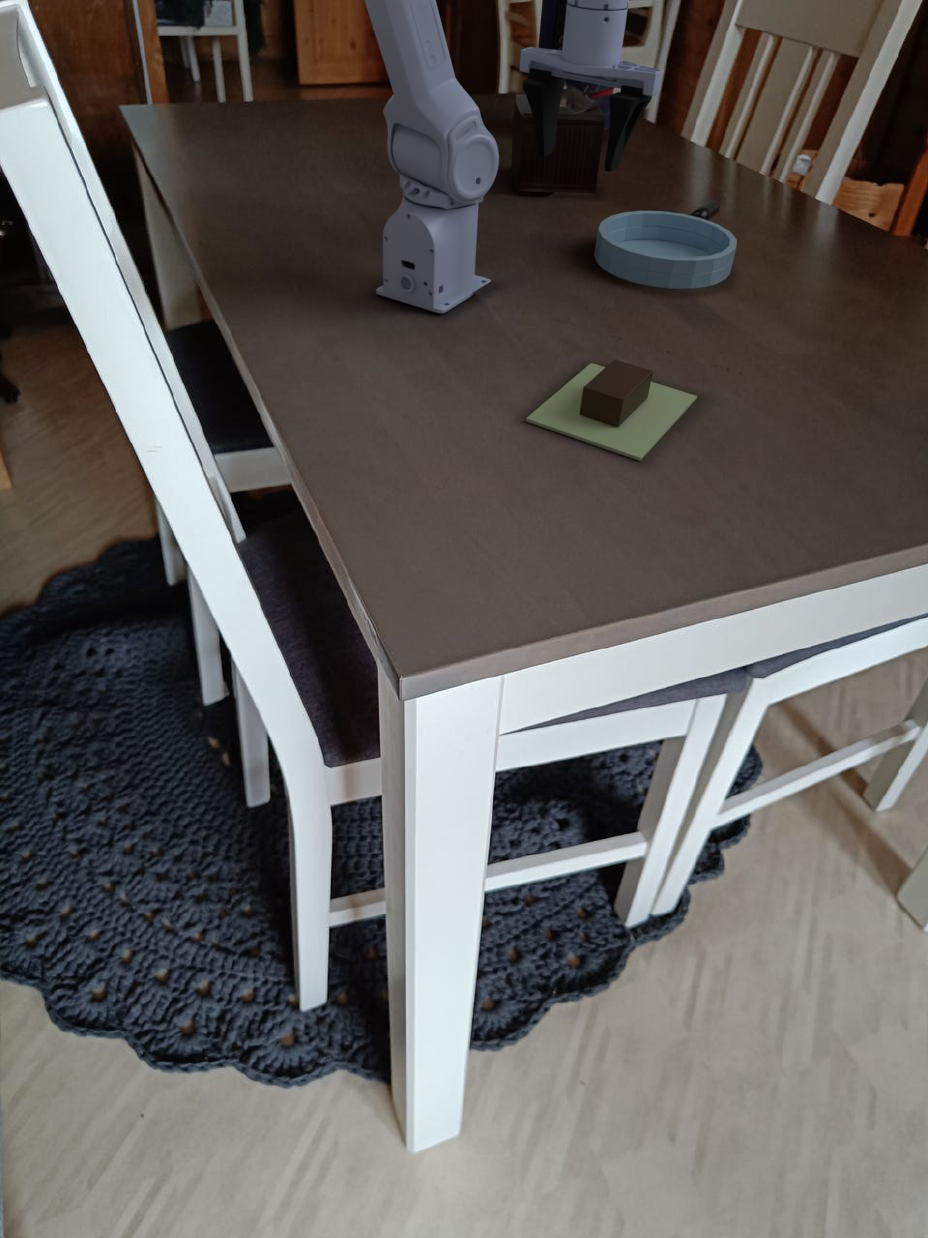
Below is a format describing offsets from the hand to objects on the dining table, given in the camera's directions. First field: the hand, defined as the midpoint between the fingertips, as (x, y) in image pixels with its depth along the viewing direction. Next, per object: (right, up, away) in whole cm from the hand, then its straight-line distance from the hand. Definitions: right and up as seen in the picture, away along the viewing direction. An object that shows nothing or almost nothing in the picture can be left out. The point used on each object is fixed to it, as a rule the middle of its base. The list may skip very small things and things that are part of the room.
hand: (578, 161), depth 94 cm
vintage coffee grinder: (0, +11, +26) cm, 29 cm away
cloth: (0, -30, -19) cm, 36 cm away
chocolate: (0, -30, -19) cm, 36 cm away
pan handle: (+15, -2, +11) cm, 19 cm away
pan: (+10, -9, +5) cm, 14 cm away
